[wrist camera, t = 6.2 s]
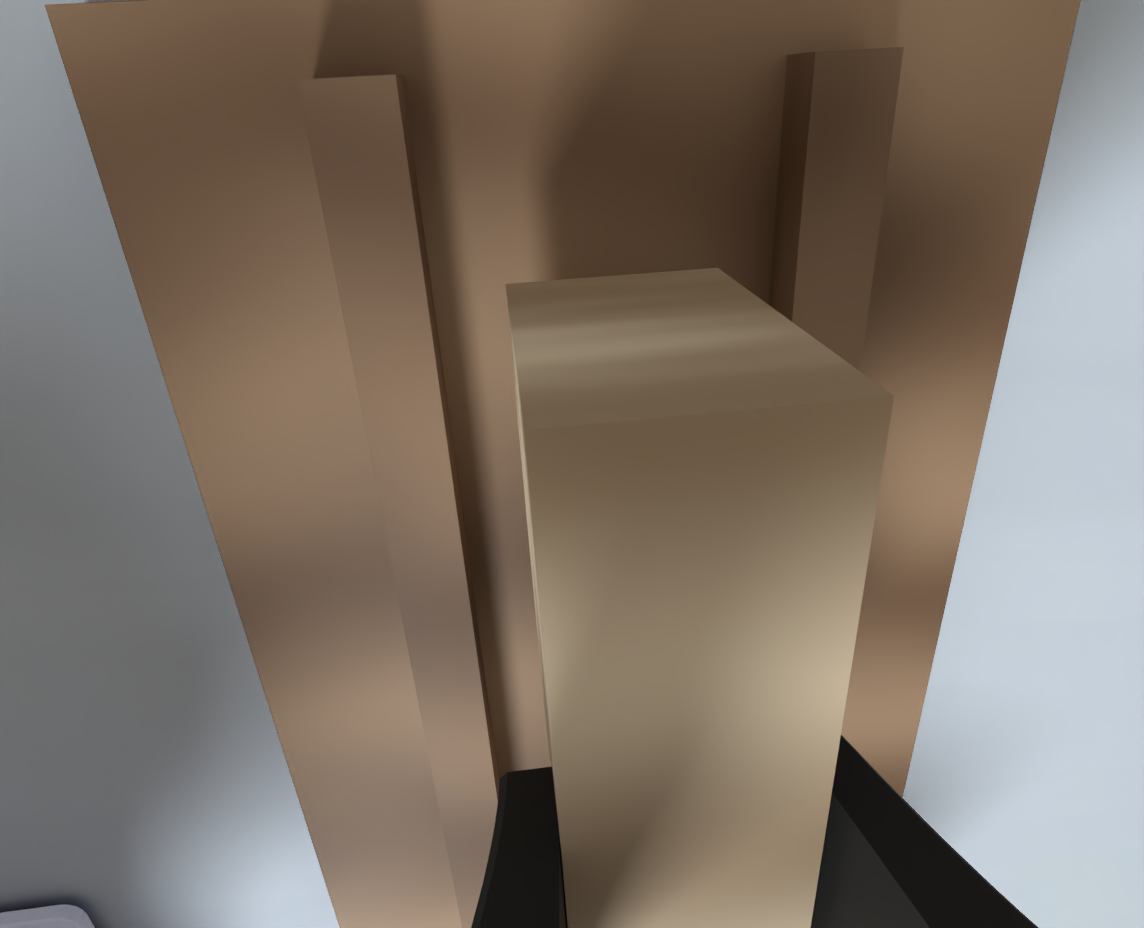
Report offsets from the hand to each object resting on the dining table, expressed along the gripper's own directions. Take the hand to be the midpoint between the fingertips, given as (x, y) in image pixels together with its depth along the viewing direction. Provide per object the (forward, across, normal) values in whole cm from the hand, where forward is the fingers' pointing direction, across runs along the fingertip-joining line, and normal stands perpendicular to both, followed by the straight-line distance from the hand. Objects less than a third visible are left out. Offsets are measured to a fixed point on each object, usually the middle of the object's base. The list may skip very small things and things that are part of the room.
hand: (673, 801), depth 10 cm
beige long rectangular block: (+3, 0, 0) cm, 4 cm away
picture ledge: (+6, 0, 0) cm, 6 cm away
